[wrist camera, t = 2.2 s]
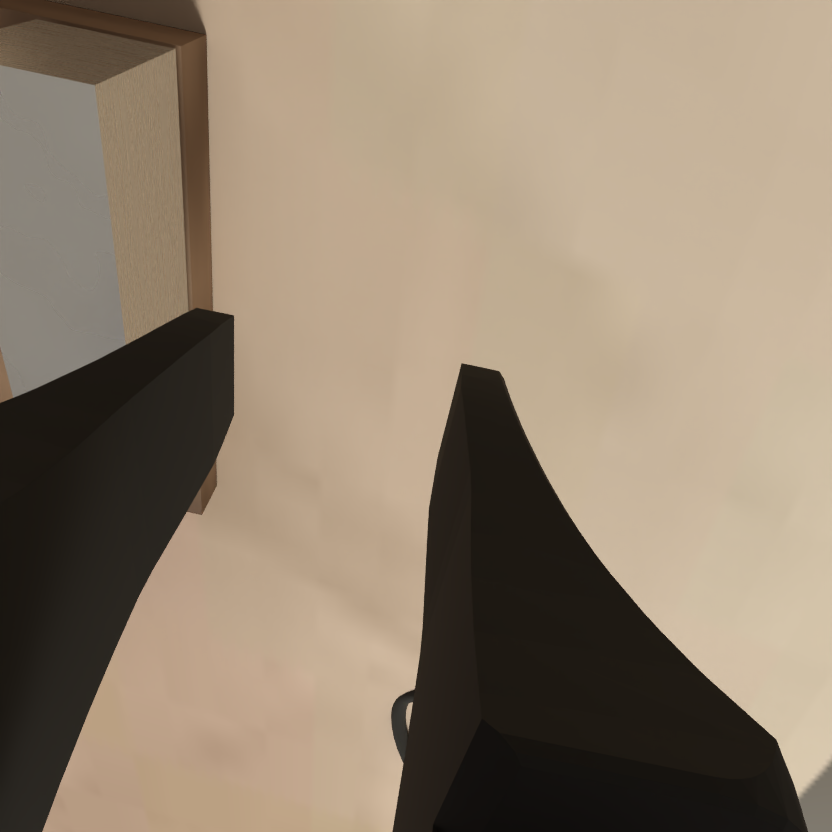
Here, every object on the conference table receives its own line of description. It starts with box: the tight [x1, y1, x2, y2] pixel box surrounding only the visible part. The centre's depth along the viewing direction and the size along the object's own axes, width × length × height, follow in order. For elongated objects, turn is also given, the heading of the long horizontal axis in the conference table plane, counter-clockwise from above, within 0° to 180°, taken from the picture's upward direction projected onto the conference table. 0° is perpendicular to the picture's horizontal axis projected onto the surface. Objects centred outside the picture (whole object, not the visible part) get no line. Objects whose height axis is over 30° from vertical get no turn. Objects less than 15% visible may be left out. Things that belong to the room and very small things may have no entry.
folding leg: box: [0, 19, 188, 398], centre depth 17 cm, size 12×3×4 cm, turn 170°
